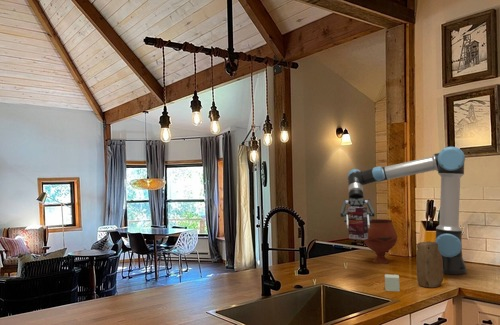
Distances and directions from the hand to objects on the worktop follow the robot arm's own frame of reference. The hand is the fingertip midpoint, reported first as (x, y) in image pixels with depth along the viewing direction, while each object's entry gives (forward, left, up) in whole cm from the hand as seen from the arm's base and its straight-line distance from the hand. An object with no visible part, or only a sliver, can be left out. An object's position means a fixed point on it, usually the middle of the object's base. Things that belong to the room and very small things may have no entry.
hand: (358, 226), depth 205 cm
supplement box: (0, -3, -7) cm, 7 cm away
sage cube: (-15, +14, -26) cm, 33 cm away
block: (-32, +4, -27) cm, 42 cm away
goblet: (-10, -46, -27) cm, 54 cm away
